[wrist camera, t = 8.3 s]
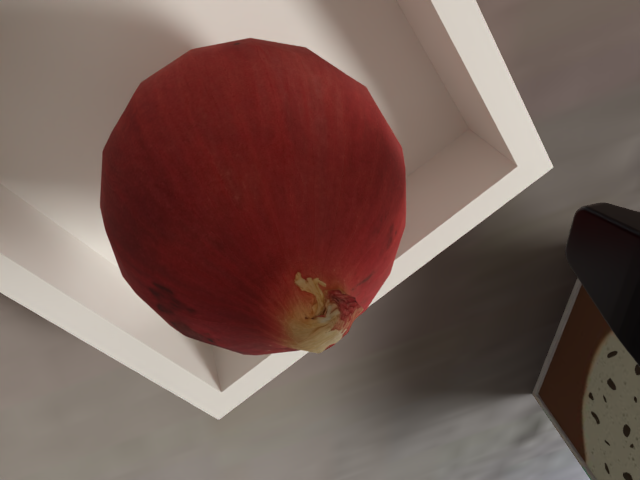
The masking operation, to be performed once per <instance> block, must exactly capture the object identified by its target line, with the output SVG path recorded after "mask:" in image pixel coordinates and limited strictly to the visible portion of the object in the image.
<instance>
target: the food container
mask: <svg viewBox="0 0 640 480" xmlns="http://www.w3.org/2000/svg"><path fill="white" fill-rule="evenodd" d="M532 394H533V396H534V397H535V399H536V400H537V402H538V403H539V404H540V406H541V407H542V409H543V410H544V412H545V413H546V415H547V416H548V418H549V419H550V421H551V422H552V424H553V425H554V427H555V428H556V429H557V431H558V432H559V434H560V435H561V437H562V438H563V440H564V441H565V443H566V444H567V446H568V447H569V449H570V450H571V452H572V453H573V454H574V456H575V457H576V459H577V460H578V462H579V463H580V465H581V466H582V468H583V469H584V471H585V472H586V474H587V475H588V477H589V478H590V480H640V366H639V365H638V364H637V363H636V361H635V360H634V359H633V358H632V356H631V355H630V354H629V353H628V351H627V350H626V349H625V348H624V346H623V345H622V344H621V342H620V341H619V340H618V338H617V337H616V335H615V334H614V333H613V331H612V330H611V328H610V327H609V325H608V324H607V322H606V321H605V319H604V318H603V316H602V315H601V313H600V311H599V310H598V308H597V307H596V305H595V304H594V302H593V301H592V299H591V298H590V296H589V294H588V293H587V291H586V290H585V288H584V287H583V285H582V284H581V282H580V281H579V279H578V278H577V280H576V283H575V285H574V288H573V290H572V293H571V295H570V298H569V301H568V303H567V306H566V308H565V311H564V313H563V316H562V318H561V321H560V324H559V326H558V329H557V331H556V334H555V336H554V339H553V342H552V344H551V347H550V349H549V352H548V354H547V357H546V360H545V362H544V365H543V367H542V370H541V372H540V375H539V377H538V380H537V383H536V385H535V388H534V390H533V393H532Z"/></svg>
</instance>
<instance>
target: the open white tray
mask: <svg viewBox="0 0 640 480" xmlns="http://www.w3.org/2000/svg"><path fill="white" fill-rule="evenodd" d="M247 38H255V39H261V40H266V41H272V42H278V43H284V44H290V45H295V46H301V47H306V48H308V49H309V50H311V51H312V52H314V53H315V54H317V55H318V56H320V57H321V58H323V59H324V60H326V61H327V62H329V63H330V64H332V65H333V66H335V67H336V68H338V69H339V70H341V71H342V72H344V73H345V74H347V75H348V76H350V77H352V78H353V79H355V80H356V81H358V82H359V83H361V84H363V85H364V86H366V87H367V89H368V91H369V92H370V94H371V96H372V97H373V99H374V101H375V102H376V104H377V106H378V108H379V109H380V111H381V113H382V114H383V116H384V118H385V119H386V121H387V123H388V124H389V126H390V128H391V129H392V131H393V133H394V135H395V136H396V138H397V140H398V141H399V143H400V145H401V146H402V149H403V156H404V162H405V168H406V225H405V229H404V232H403V235H402V238H401V241H400V244H399V247H398V250H397V253H396V257H395V260H394V263H393V267H392V270H391V273H390V275H389V276H388V278H387V279H386V281H385V282H384V284H383V285H382V287H381V288H380V290H379V291H378V293H377V294H376V296H375V297H374V299H373V300H372V302H371V303H370V305H372V304H373V303H374V302H376V301H377V300H378V299H380V298H381V297H382V296H383V295H385V294H386V293H387V292H389V291H390V290H391V289H393V288H394V287H395V286H397V285H398V284H399V283H401V282H402V281H403V280H405V279H406V278H407V277H409V276H410V275H411V274H413V273H414V272H415V271H417V270H418V269H419V268H421V267H422V266H423V265H425V264H426V263H427V262H429V261H430V260H431V259H433V258H434V257H435V256H436V255H438V254H439V253H440V252H442V251H443V250H444V249H446V248H447V247H448V246H450V245H451V244H452V243H454V242H455V241H456V240H458V239H459V238H460V237H462V236H463V235H464V234H466V233H467V232H468V231H470V230H471V229H472V228H474V227H475V226H476V225H478V224H479V223H480V222H482V221H483V220H484V219H486V218H487V217H488V216H490V215H491V214H492V213H493V212H495V211H496V210H497V209H499V208H500V207H501V206H503V205H504V204H505V203H507V202H508V201H509V200H511V199H512V198H513V197H515V196H516V195H517V194H519V193H520V192H521V191H523V190H524V189H525V188H527V187H528V186H529V185H531V184H532V183H533V182H535V181H536V180H537V179H539V178H540V177H541V176H543V175H544V174H545V173H546V172H548V171H549V170H550V169H552V168H553V165H552V163H551V161H550V159H549V157H548V155H547V152H546V150H545V148H544V146H543V144H542V142H541V140H540V137H539V135H538V133H537V131H536V129H535V127H534V125H533V122H532V120H531V118H530V116H529V114H528V112H527V109H526V107H525V105H524V103H523V101H522V99H521V97H520V94H519V92H518V90H517V88H516V86H515V84H514V82H513V79H512V77H511V75H510V73H509V71H508V69H507V67H506V64H505V62H504V60H503V58H502V56H501V54H500V52H499V49H498V47H497V45H496V43H495V41H494V39H493V37H492V34H491V32H490V30H489V28H488V26H487V24H486V21H485V19H484V17H483V15H482V13H481V11H480V9H479V6H478V4H477V2H476V0H0V293H2V294H4V295H5V296H7V297H9V298H11V299H12V300H14V301H16V302H17V303H19V304H21V305H23V306H24V307H26V308H28V309H29V310H31V311H33V312H35V313H36V314H38V315H40V316H41V317H43V318H45V319H47V320H48V321H50V322H52V323H53V324H55V325H57V326H59V327H60V328H62V329H64V330H65V331H67V332H69V333H71V334H72V335H74V336H76V337H77V338H79V339H81V340H83V341H84V342H86V343H88V344H89V345H91V346H93V347H95V348H96V349H98V350H100V351H101V352H103V353H105V354H107V355H108V356H110V357H112V358H113V359H115V360H117V361H119V362H120V363H122V364H124V365H125V366H127V367H129V368H131V369H132V370H134V371H136V372H137V373H139V374H141V375H143V376H144V377H146V378H148V379H149V380H151V381H153V382H155V383H156V384H158V385H160V386H161V387H163V388H165V389H167V390H168V391H170V392H172V393H173V394H175V395H177V396H179V397H180V398H182V399H184V400H185V401H187V402H189V403H191V404H192V405H194V406H196V407H197V408H199V409H201V410H203V411H204V412H206V413H208V414H209V415H211V416H213V417H215V418H216V419H218V420H219V419H220V418H222V417H223V416H224V415H226V414H227V413H228V412H230V411H231V410H232V409H234V408H235V407H236V406H238V405H239V404H240V403H242V402H243V401H244V400H246V399H247V398H248V397H250V396H251V395H252V394H254V393H255V392H256V391H258V390H259V389H260V388H262V387H263V386H264V385H266V384H267V383H268V382H270V381H271V380H272V379H273V378H275V377H276V376H277V375H279V374H280V373H281V372H283V371H284V370H285V369H287V368H288V367H289V366H291V365H292V364H293V363H295V362H296V361H297V360H299V359H300V358H301V357H303V356H304V355H305V354H307V353H308V352H309V351H303V350H299V351H292V352H283V353H274V354H265V355H243V354H240V353H237V352H233V351H230V350H227V349H224V348H220V347H217V346H214V345H210V344H207V343H204V342H201V341H198V340H195V339H192V338H189V337H186V336H184V335H183V334H181V333H180V332H178V331H177V330H175V329H174V328H173V327H171V326H170V325H169V324H168V323H167V322H166V321H165V320H164V319H162V318H161V317H160V316H159V315H158V314H157V313H156V312H155V311H154V310H153V309H152V308H151V307H150V306H149V305H147V304H146V303H145V302H144V301H143V300H142V299H141V298H140V297H139V296H138V295H137V294H136V293H135V292H134V291H133V289H132V288H131V287H130V285H129V284H128V283H127V282H126V280H125V279H124V278H123V276H122V274H121V271H120V269H119V266H118V263H117V261H116V258H115V255H114V253H113V250H112V247H111V244H110V242H109V239H108V236H107V234H106V231H105V227H104V223H103V218H102V214H101V209H100V192H101V172H102V152H103V149H104V147H105V145H106V143H107V141H108V139H109V136H110V134H111V132H112V130H113V129H114V127H115V125H116V124H117V122H118V120H119V119H120V117H121V115H122V114H123V112H124V110H125V108H126V107H127V105H128V103H129V101H130V99H131V98H132V96H133V94H134V92H135V91H136V89H137V88H138V86H139V85H140V83H141V82H142V81H144V80H145V79H147V78H148V77H150V76H151V75H153V74H154V73H156V72H157V71H159V70H161V69H162V68H164V67H165V66H167V65H168V64H170V63H171V62H173V61H174V60H176V59H177V58H179V57H180V56H182V55H183V54H185V53H186V52H188V51H189V50H191V49H195V48H200V47H205V46H210V45H216V44H221V43H226V42H231V41H236V40H241V39H247ZM370 305H369V306H370ZM369 306H368V307H369Z"/></svg>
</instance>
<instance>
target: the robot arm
mask: <svg viewBox="0 0 640 480" xmlns="http://www.w3.org/2000/svg"><path fill="white" fill-rule="evenodd" d="M565 254H566V259H567V261H568V263H569V265H570V267H571V268H572V270H573V271H574V273H575V274H576V276H577V278H578V279H579V281H580V282H581V284H582V285H583V287H584V288H585V290H586V291H587V293H588V294H589V296H590V298H591V299H592V301H593V302H594V304H595V305H596V307H597V308H598V310H599V311H600V313H601V315H602V316H603V318H604V319H605V321H606V322H607V324H608V325H609V327H610V328H611V330H612V331H613V333H614V334H615V335H616V337H617V338H618V340H619V341H620V342H621V344H622V345H623V346H624V348H625V349H626V350H627V351H628V353H629V354H630V355H631V356H632V358H633V359H634V360H635V361H636V363H637V364H638V365H639V366H640V212H637V211H633V210H630V209H626V208H622V207H619V206H615V205H612V204H608V203H596V204H591V205H587V206H583V207H581V208H579V209H578V210H577V211H576V213H575V214H574V217H573V221H572V225H571V229H570V233H569V236H568V240H567V244H566V249H565Z"/></svg>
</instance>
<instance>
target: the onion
mask: <svg viewBox="0 0 640 480" xmlns="http://www.w3.org/2000/svg"><path fill="white" fill-rule="evenodd" d="M100 209H101V214H102V218H103V223H104V227H105V231H106V234H107V236H108V239H109V242H110V244H111V247H112V250H113V253H114V255H115V258H116V261H117V263H118V266H119V269H120V271H121V274H122V276H123V278H124V279H125V280H126V282H127V283H128V284H129V285H130V287H131V288H132V289H133V291H134V292H135V293H136V294H137V295H138V296H139V297H140V298H141V299H142V300H143V301H144V302H145V303H146V304H147V305H149V306H150V307H151V308H152V309H153V310H154V311H155V312H156V313H157V314H158V315H159V316H160V317H161V318H162V319H164V320H165V321H166V322H167V323H168V324H169V325H170V326H171V327H173V328H174V329H175V330H177V331H178V332H180V333H181V334H183V335H184V336H186V337H189V338H192V339H195V340H198V341H201V342H204V343H207V344H210V345H214V346H217V347H220V348H224V349H227V350H230V351H233V352H237V353H240V354H243V355H265V354H274V353H283V352H292V351H299V350H303V351H309V352H314V353H321V352H323V351H324V350H326V349H328V348H330V347H331V346H333V345H334V344H336V343H337V342H338V341H339V340H340V339H341V338H342V337H343V336H345V335H346V334H347V333H348V332H349V329H350V327H351V325H352V322H353V321H354V320H355V319H356V318H357V317H358V316H359V315H361V314H362V313H363V312H364V311H366V309H367V308H368V306H369V305H370V303H371V302H372V300H373V299H374V297H375V296H376V294H377V293H378V291H379V290H380V288H381V287H382V285H383V284H384V282H385V281H386V279H387V278H388V276H389V275H390V273H391V270H392V267H393V263H394V260H395V257H396V253H397V250H398V247H399V244H400V241H401V238H402V235H403V232H404V229H405V225H406V168H405V162H404V156H403V149H402V146H401V145H400V143H399V141H398V140H397V138H396V136H395V135H394V133H393V131H392V129H391V128H390V126H389V124H388V123H387V121H386V119H385V118H384V116H383V114H382V113H381V111H380V109H379V108H378V106H377V104H376V102H375V101H374V99H373V97H372V96H371V94H370V92H369V91H368V89H367V87H366V86H364V85H363V84H361V83H359V82H358V81H356V80H355V79H353V78H352V77H350V76H348V75H347V74H345V73H344V72H342V71H341V70H339V69H338V68H336V67H335V66H333V65H332V64H330V63H329V62H327V61H326V60H324V59H323V58H321V57H320V56H318V55H317V54H315V53H314V52H312V51H311V50H309V49H308V48H306V47H301V46H295V45H290V44H284V43H278V42H272V41H266V40H261V39H255V38H247V39H241V40H236V41H231V42H226V43H221V44H216V45H210V46H205V47H200V48H195V49H191V50H189V51H188V52H186V53H185V54H183V55H182V56H180V57H179V58H177V59H176V60H174V61H173V62H171V63H170V64H168V65H167V66H165V67H164V68H162V69H161V70H159V71H157V72H156V73H154V74H153V75H151V76H150V77H148V78H147V79H145V80H144V81H142V82H141V83H140V85H139V86H138V88H137V89H136V91H135V92H134V94H133V96H132V98H131V99H130V101H129V103H128V105H127V107H126V108H125V110H124V112H123V114H122V115H121V117H120V119H119V120H118V122H117V124H116V125H115V127H114V129H113V130H112V132H111V134H110V136H109V139H108V141H107V143H106V145H105V147H104V149H103V152H102V172H101V192H100Z"/></svg>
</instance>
